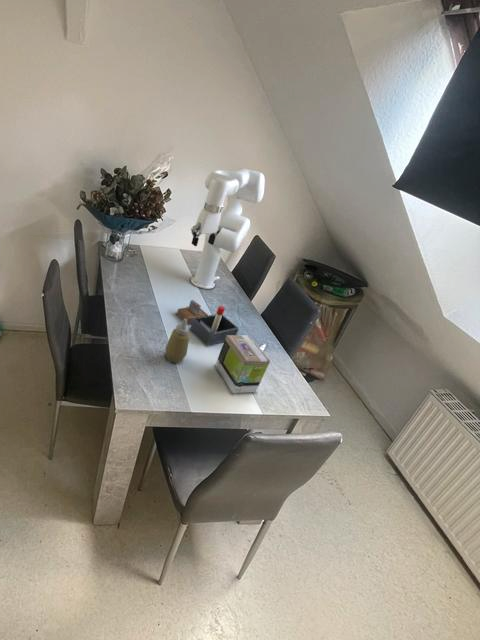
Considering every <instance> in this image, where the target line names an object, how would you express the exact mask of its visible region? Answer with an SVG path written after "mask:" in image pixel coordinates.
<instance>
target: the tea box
mask: <svg viewBox="0 0 480 640" xmlns="http://www.w3.org/2000/svg"><path fill="white" fill-rule="evenodd" d="M259 347H260V346H259V345H258V344H257V342H255V341H254V339H253V338H252V336H250V334H249V335H247V334H244V335H243V334H236V335H227V336H226V338H225V341H224V342H223V343H222V347H221V349H220V352H219V354H218V357H217V360H216V362H215V367H216V369H217V370H218V372H219V373H220V376H221V377H222V378H223V380H224V382H225V383H226V385H227V387H228V388H229V390H230V392H231V393H233V394H241V393H244V394H245V393H246V394H247V393H256V392H257V391H258V388H259V386H260V384H261V382H262V380H263V377H264V376H265V374H266V371H267V369H268V367H269V365H270V363H271V360H270V358H269V357H268V356H267V354H265V352H264V351H262V350H261V349H260V348H259Z"/></svg>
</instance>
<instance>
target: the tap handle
mask: <svg viewBox="0 0 480 640" xmlns="http://www.w3.org/2000/svg"><path fill="white" fill-rule="evenodd" d="M188 307H189V308H188V309H189V310H190V311H191V312H193V313H194V314H195V315H198V314H199V311H200V308H202V306H201V304H199V303H197V301H195V300H194V299H190V301H189V305H188Z"/></svg>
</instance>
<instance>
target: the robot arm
mask: <svg viewBox="0 0 480 640" xmlns="http://www.w3.org/2000/svg"><path fill="white" fill-rule="evenodd" d="M265 179H266V178H265V175H264V174H263V172H260V171H256V170H253V169H249V168H244V167H243V168H237V169H236V170H226V169H225V170H223V169H222V170H221V169H217V170H213V171H211V172H209V174H207V176H206V178H205V181H204V185H205V188H206V189H207V190H208V191H207V195H206V199H205V202H204V205H203V208H202V209H201V211H200V212H199V215H198V217H197V219H196V223H195V224H194V225H193V226H191V227H190V231H191V235H192V240H191V245H193V246H194V247H198V243H199V240H200V238H199V237H200V236H201V235H205V236H204V242H203V243H204V244H203V248H202V252H201V254H200V255H201V256H200V258H199V262H198V266H197V268H196V272H195V275H194V276H192V277H191V279H190V282H191V283H192V285H194V286H195V287H197V288H200V289H204V290H212V289H214V287H215V285H216V283H215V282H216V281H219V280H220V279H221V277H220V276H218V275H216V273H217V270H218V266H219V263H220V260H221V257H222V251H221V249H222V250H225V251H228V252H231V253H235V252H236V251H238V249H239V248H240V246H241V245H242V243H243V241H244V240H245V238H246V236H247V234H248V233H249V230H250V228H251V220H250V219H249V218H248V217H247V216H243V215H242V213H243V205H242V203H241V202H240V200H241V201H245V202H248V203H251V204H260V203H261V201H262V200H263V197H264V196H265V195H264V194H265V185H266V180H265ZM226 197H227V199H226ZM225 201H226V206H225V208H224V203H225ZM223 208H224V209H223ZM222 210H223V211H222Z"/></svg>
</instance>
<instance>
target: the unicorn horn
mask: <svg viewBox="0 0 480 640" xmlns="http://www.w3.org/2000/svg"><path fill="white" fill-rule="evenodd" d="M258 347H259V348H260V349H261V350H262V351H263V352H264V351H265V350H266V349H265V348H266V347H267V343H264V344H262V345H261V346H258Z"/></svg>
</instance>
